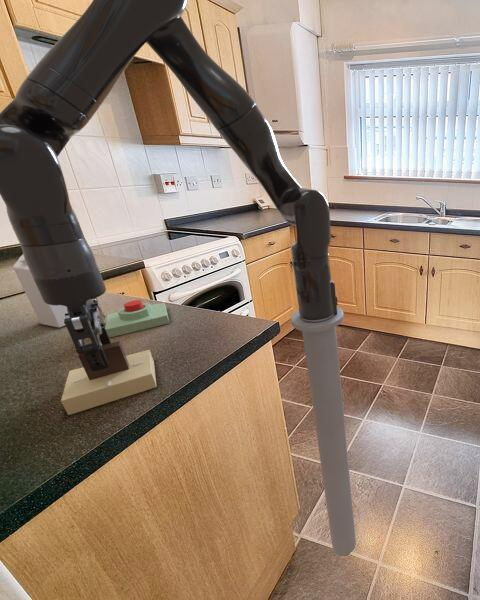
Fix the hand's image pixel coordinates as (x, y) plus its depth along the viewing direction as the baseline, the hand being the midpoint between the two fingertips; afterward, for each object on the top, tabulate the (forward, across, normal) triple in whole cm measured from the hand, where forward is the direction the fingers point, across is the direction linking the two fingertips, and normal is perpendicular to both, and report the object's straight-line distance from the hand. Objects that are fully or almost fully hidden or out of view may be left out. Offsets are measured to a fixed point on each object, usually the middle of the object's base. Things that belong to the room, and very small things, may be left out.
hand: (102, 357), depth 59 cm
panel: (+6, 0, 0) cm, 6 cm away
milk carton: (+6, +41, +11) cm, 43 cm away
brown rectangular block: (+3, 0, 0) cm, 3 cm away
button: (+3, +28, -4) cm, 28 cm away
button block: (+6, +28, -4) cm, 29 cm away
